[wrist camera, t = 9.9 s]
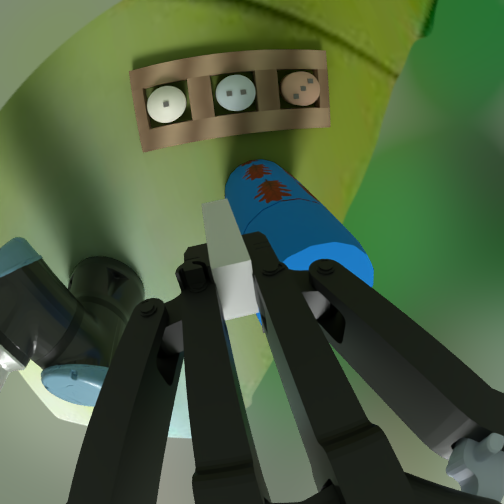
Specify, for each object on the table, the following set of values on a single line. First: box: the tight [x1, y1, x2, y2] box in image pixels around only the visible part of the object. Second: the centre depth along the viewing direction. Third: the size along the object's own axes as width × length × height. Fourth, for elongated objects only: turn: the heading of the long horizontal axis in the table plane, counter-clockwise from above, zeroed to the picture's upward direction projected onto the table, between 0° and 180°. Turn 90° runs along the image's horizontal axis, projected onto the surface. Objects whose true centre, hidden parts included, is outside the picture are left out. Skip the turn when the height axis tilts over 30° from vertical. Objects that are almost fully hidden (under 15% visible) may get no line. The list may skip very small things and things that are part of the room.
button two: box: [215, 75, 256, 111], centre depth 33 cm, size 5×5×3 cm
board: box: [129, 49, 330, 153], centre depth 34 cm, size 27×12×2 cm, turn 95°
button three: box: [279, 71, 320, 106], centre depth 33 cm, size 5×5×3 cm
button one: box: [147, 86, 187, 123], centre depth 32 cm, size 5×5×3 cm
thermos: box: [225, 159, 374, 325], centre depth 33 cm, size 11×11×25 cm
